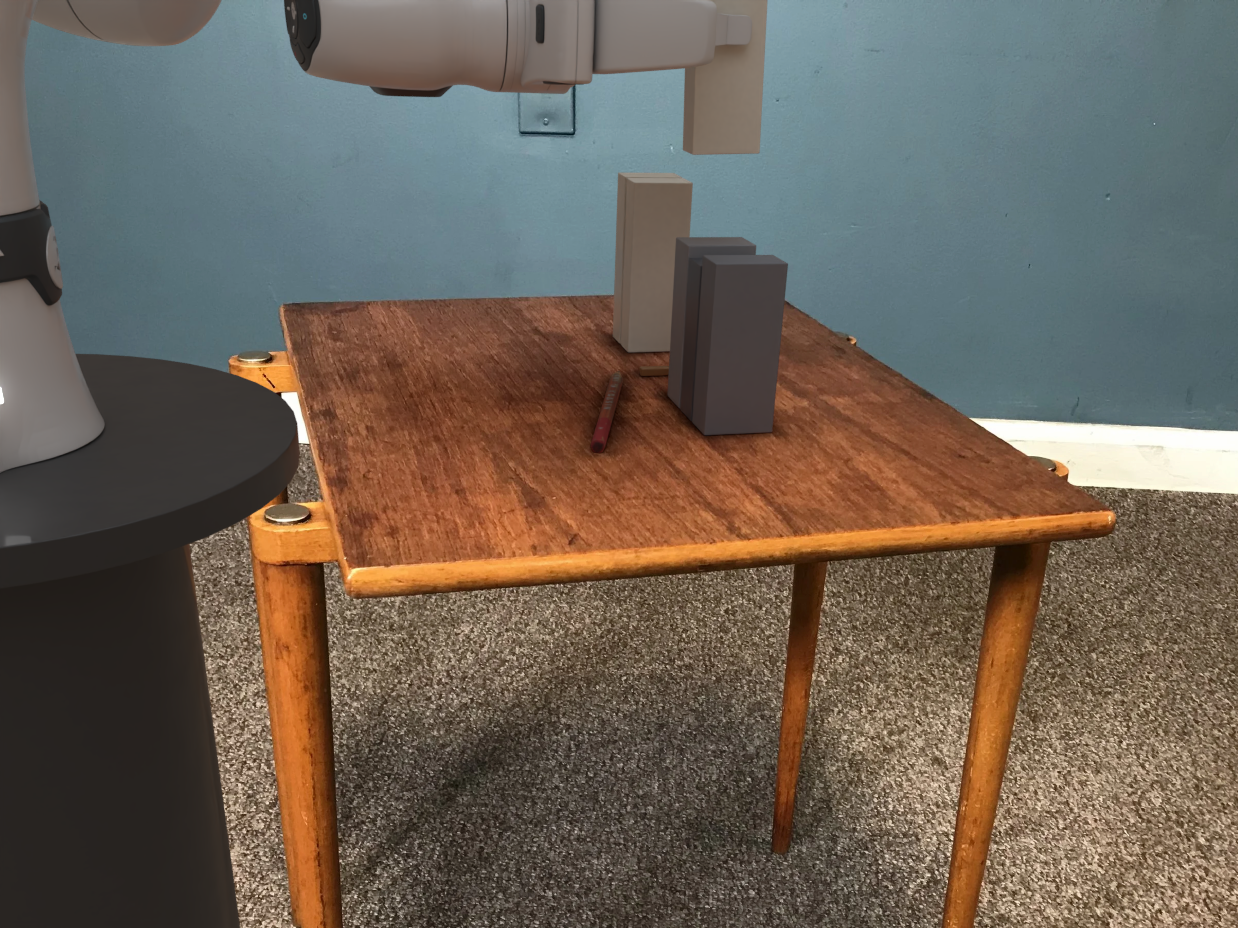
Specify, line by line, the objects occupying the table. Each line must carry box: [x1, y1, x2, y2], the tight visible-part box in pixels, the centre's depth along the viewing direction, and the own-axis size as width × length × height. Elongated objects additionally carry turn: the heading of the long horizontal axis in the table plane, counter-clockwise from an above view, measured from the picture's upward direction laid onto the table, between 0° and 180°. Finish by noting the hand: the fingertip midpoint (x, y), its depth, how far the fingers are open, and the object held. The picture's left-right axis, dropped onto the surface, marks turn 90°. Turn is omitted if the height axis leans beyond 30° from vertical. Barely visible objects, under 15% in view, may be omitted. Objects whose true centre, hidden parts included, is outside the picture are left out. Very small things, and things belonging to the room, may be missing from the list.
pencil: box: [590, 370, 624, 454], centre depth 95 cm, size 19×1×1 cm, turn 177°
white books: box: [612, 171, 694, 377], centre depth 106 cm, size 6×13×14 cm, turn 15°
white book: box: [682, 0, 768, 156], centre depth 87 cm, size 5×2×14 cm, turn 105°
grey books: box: [667, 236, 789, 436], centre depth 93 cm, size 5×10×12 cm, turn 15°
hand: (739, 28), depth 87 cm, fingers closed on white book, 2 cm apart
